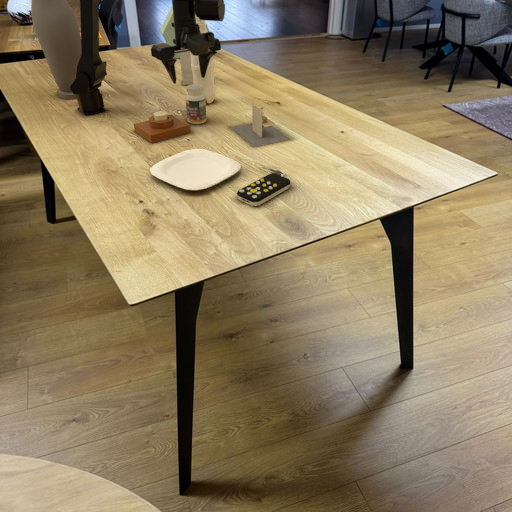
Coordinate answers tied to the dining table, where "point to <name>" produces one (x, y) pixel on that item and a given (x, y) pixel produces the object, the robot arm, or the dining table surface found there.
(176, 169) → the plate
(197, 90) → the pill bottle
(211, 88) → the water bottle
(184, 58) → the light grey tall block
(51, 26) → the vase
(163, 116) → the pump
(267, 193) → the remote control
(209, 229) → the dining table surface
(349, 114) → the dining table surface
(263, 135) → the architectural model
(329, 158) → the dining table surface
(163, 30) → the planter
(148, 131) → the base
